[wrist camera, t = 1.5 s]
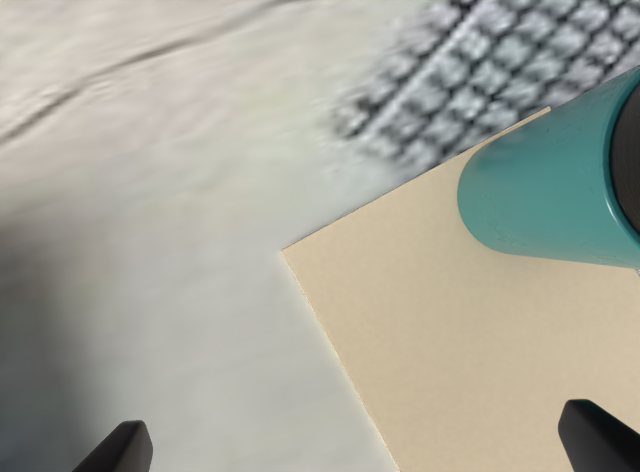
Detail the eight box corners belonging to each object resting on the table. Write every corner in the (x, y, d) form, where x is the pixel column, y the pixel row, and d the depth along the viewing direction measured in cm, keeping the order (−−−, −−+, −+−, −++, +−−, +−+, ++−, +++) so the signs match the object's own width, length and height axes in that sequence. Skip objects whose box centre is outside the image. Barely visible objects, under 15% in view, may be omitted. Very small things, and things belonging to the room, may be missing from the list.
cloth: (717, 432, 23) (723, 435, 22) (456, 574, 23) (457, 578, 22) (546, 107, 22) (549, 105, 22) (280, 250, 22) (280, 250, 22)
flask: (595, 219, 22) (952, 203, 10) (491, 275, 22) (715, 331, 10) (539, 114, 22) (830, -37, 10) (435, 171, 22) (590, 92, 10)
